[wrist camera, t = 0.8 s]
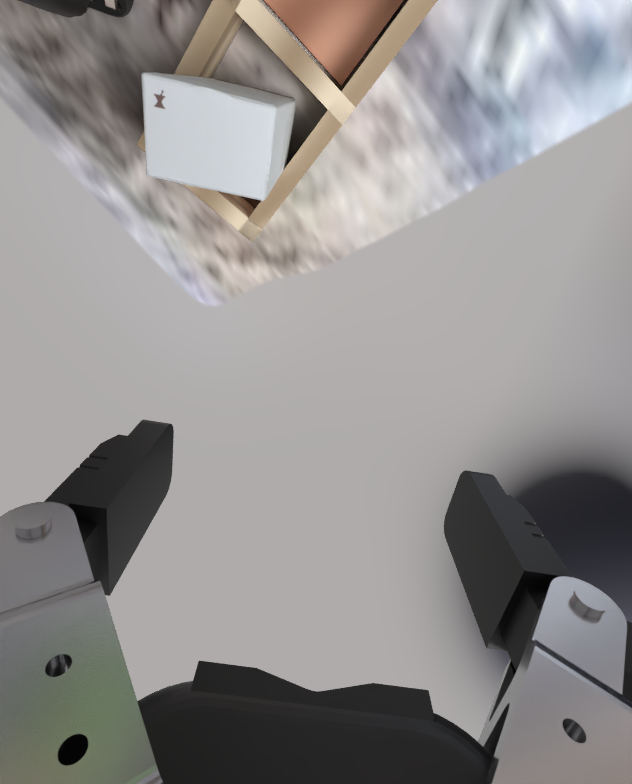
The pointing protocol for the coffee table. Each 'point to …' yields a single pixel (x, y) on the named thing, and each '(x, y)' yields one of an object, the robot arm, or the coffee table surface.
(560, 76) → the coffee table surface
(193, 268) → the coffee table surface
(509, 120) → the coffee table surface
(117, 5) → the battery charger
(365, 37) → the slot organizer
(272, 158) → the skincare box
